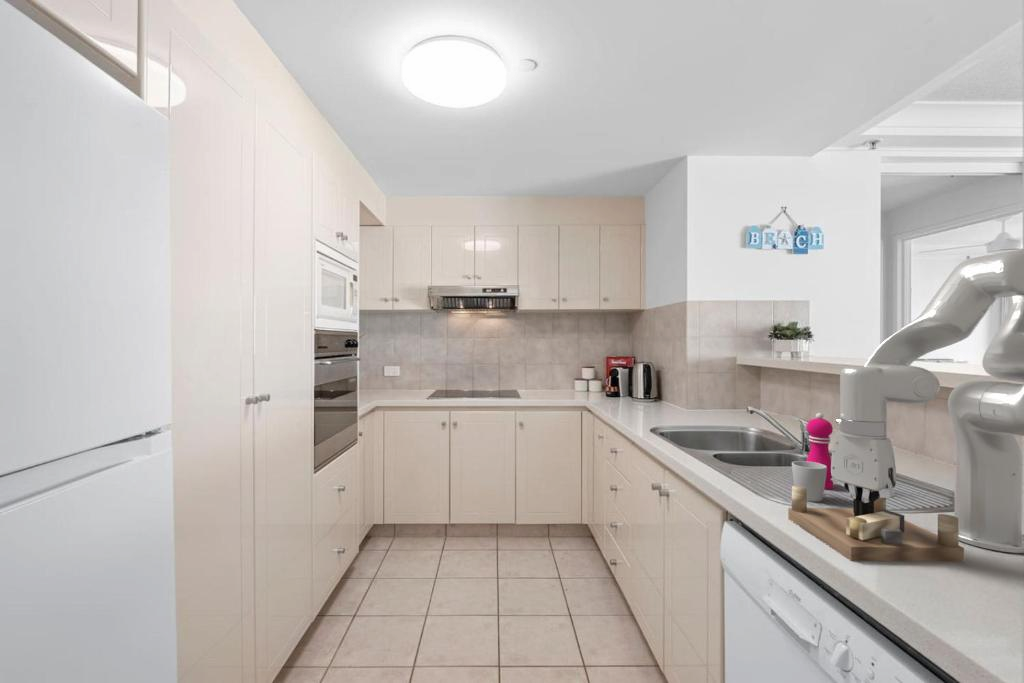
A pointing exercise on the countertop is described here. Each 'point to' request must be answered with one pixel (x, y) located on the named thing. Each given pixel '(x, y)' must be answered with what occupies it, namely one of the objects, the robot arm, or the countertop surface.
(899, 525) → the folding leg
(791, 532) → the countertop surface
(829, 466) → the pepper mill
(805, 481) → the cup
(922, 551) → the stool seat
